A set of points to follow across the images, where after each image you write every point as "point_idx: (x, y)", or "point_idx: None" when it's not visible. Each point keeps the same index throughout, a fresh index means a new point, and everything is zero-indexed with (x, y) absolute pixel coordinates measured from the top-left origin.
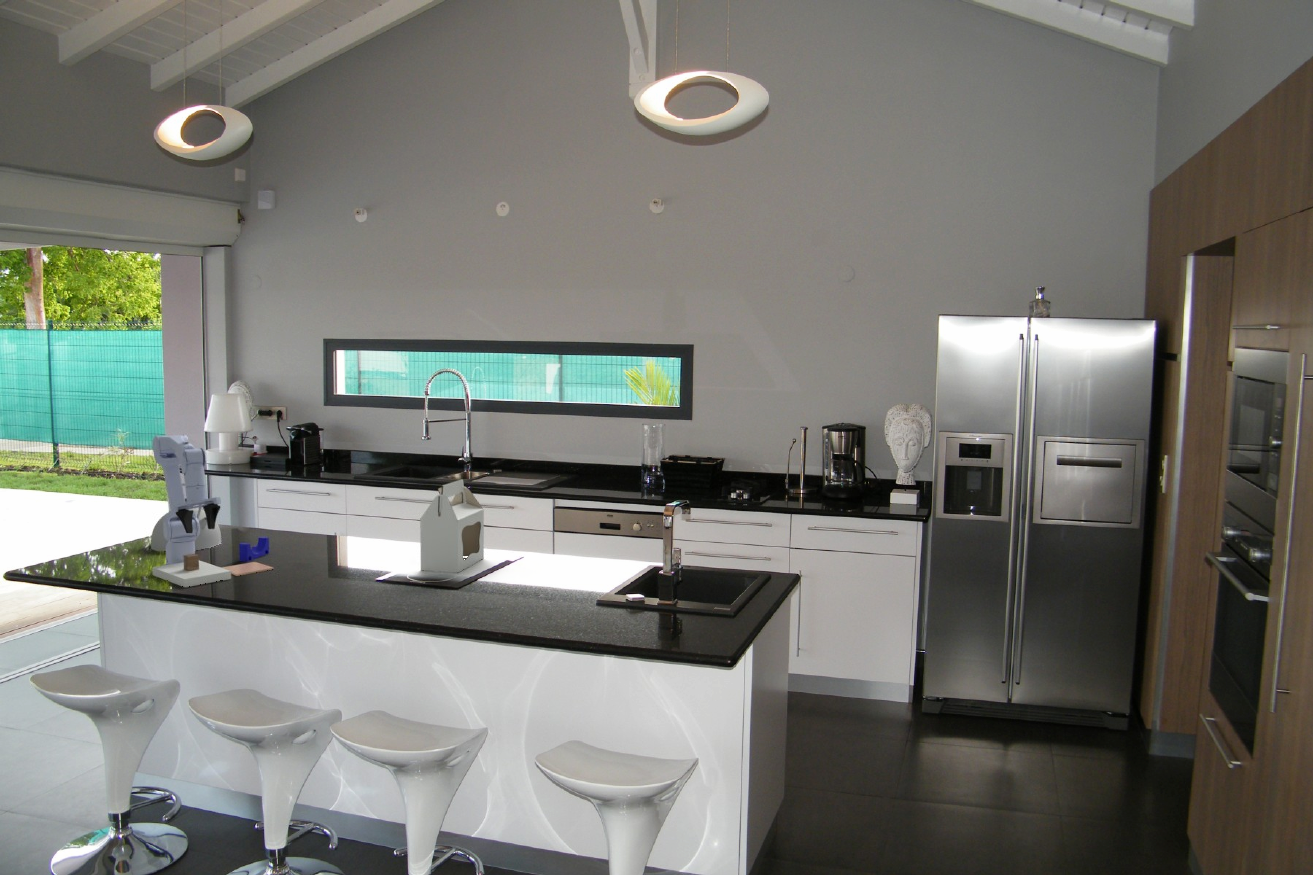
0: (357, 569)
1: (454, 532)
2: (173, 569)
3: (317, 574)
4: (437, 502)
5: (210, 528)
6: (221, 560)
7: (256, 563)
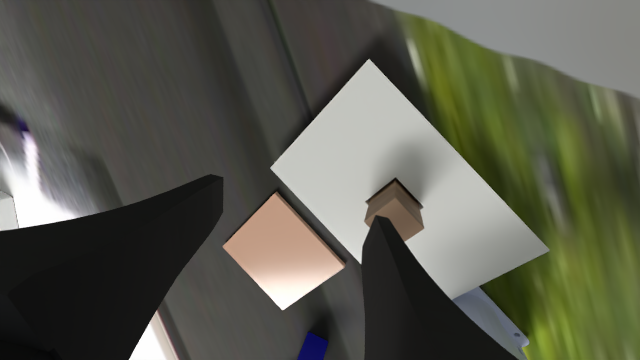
0: None
1: None
2: (455, 206)
3: (131, 187)
4: None
5: (208, 175)
6: None
7: (273, 293)
